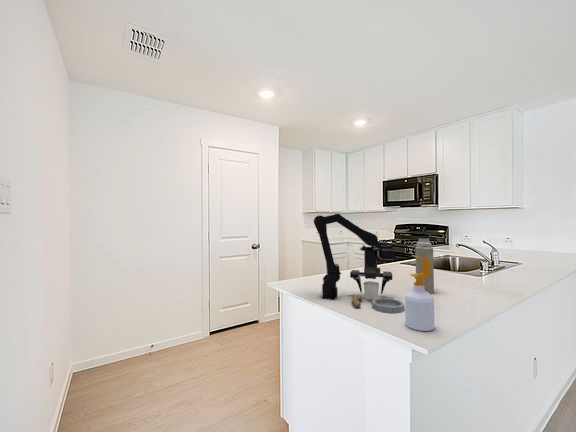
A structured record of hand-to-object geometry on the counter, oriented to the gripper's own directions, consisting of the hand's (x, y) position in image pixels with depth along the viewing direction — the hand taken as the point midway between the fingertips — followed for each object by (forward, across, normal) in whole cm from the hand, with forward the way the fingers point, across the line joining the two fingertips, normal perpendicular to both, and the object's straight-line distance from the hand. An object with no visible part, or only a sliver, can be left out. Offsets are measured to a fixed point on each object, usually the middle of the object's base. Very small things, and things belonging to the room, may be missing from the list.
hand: (371, 293), depth 128 cm
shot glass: (+2, 0, 0) cm, 2 cm away
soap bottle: (+2, +17, -30) cm, 35 cm away
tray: (+2, +7, -13) cm, 15 cm away
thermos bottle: (+2, +25, +17) cm, 30 cm away
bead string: (+2, -6, -12) cm, 14 cm away
